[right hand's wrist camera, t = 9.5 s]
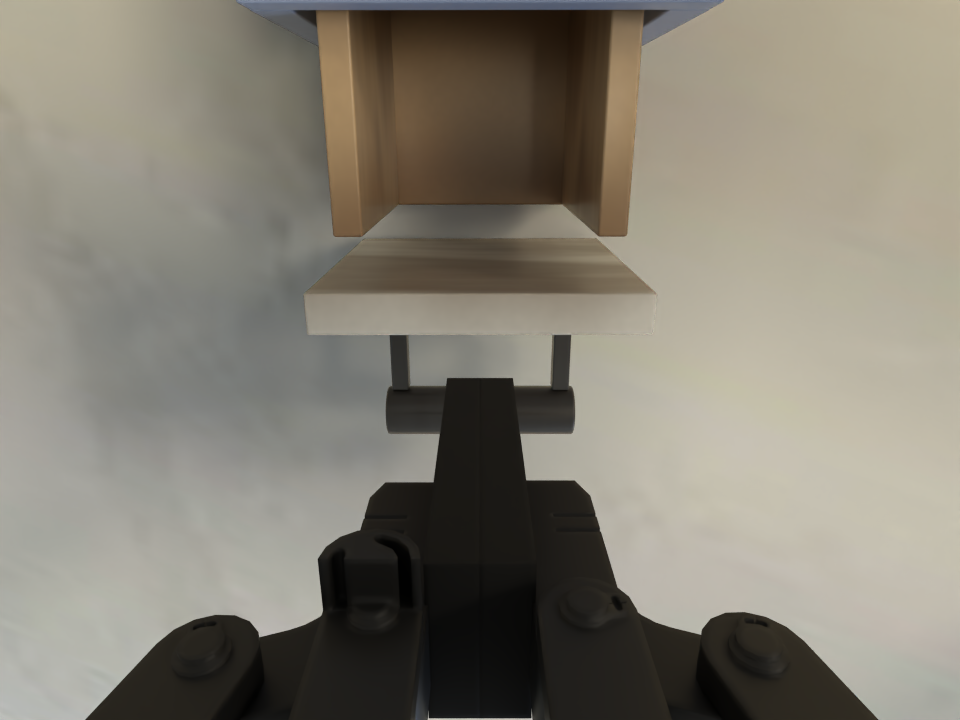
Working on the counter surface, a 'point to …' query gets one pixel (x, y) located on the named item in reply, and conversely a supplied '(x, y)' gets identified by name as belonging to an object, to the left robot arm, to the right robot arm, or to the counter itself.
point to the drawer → (480, 185)
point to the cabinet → (296, 4)
